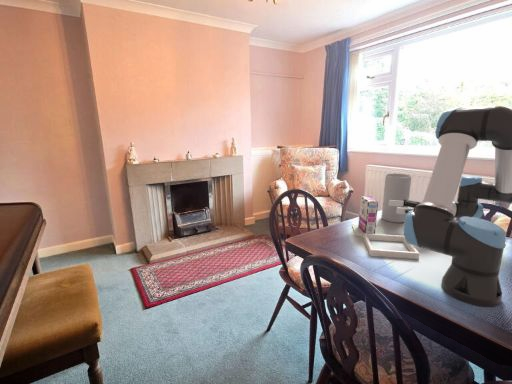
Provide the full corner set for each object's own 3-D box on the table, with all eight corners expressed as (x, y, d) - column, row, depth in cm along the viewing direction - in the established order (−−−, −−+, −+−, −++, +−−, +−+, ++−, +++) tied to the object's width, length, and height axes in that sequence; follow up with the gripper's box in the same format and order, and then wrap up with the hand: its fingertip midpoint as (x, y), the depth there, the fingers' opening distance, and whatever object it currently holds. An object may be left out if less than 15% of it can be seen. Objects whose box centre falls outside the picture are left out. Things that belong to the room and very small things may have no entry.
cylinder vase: (408, 224, 148) (413, 178, 142) (382, 221, 152) (386, 176, 146) (404, 216, 160) (409, 173, 154) (380, 214, 164) (384, 173, 158)
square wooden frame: (418, 259, 110) (419, 253, 109) (370, 255, 114) (370, 249, 113) (404, 241, 127) (405, 235, 126) (363, 238, 131) (363, 233, 130)
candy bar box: (375, 234, 133) (378, 201, 129) (365, 234, 133) (367, 201, 130) (367, 226, 144) (370, 195, 140) (357, 226, 144) (360, 195, 140)
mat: (387, 238, 130) (387, 237, 130) (355, 236, 133) (355, 235, 133) (380, 227, 144) (380, 226, 144) (352, 226, 146) (352, 224, 146)
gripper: (453, 225, 118) (399, 222, 122) (430, 209, 142) (385, 206, 146) (456, 208, 117) (401, 205, 121) (432, 195, 140) (387, 193, 145)
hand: (392, 206), depth 134 cm, fingers open, 13 cm apart
